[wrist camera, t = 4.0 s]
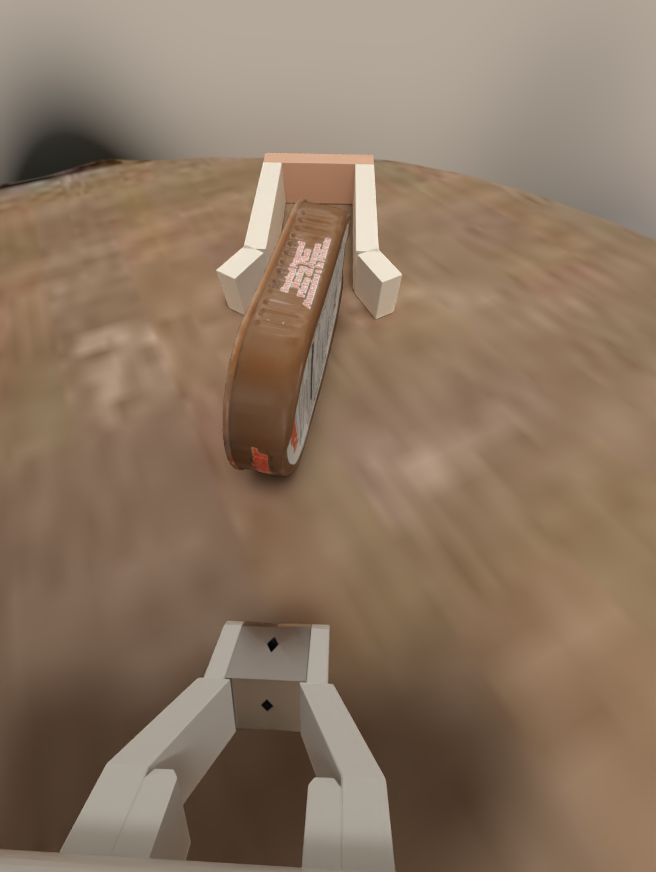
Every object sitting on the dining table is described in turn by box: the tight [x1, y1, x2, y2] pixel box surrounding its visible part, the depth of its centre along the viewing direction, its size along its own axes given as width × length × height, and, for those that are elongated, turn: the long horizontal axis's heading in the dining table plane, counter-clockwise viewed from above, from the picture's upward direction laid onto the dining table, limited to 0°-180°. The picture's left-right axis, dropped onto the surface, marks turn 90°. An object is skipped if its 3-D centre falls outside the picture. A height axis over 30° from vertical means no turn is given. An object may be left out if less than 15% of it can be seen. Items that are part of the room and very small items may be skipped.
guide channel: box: [216, 153, 402, 319], centre depth 25 cm, size 12×16×3 cm
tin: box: [223, 198, 351, 476], centre depth 17 cm, size 15×3×8 cm, turn 168°
